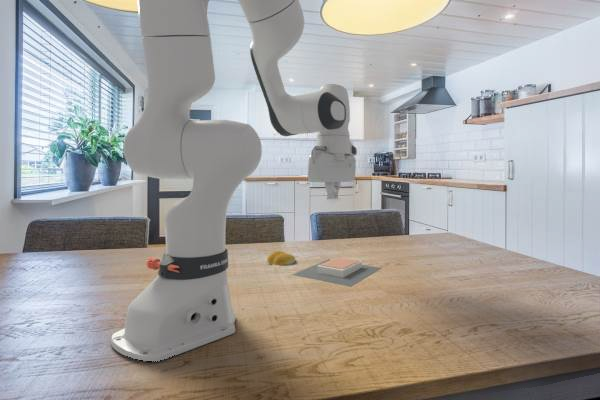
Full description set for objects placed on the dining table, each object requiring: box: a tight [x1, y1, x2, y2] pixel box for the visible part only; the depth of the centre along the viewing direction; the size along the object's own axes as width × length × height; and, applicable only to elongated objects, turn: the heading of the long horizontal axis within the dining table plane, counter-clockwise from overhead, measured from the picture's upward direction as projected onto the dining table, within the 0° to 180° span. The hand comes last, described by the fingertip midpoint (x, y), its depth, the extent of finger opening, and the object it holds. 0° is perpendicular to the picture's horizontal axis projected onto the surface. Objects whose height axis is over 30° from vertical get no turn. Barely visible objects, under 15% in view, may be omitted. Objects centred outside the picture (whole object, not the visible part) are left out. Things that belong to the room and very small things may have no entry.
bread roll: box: [266, 250, 296, 266], centre depth 114 cm, size 8×9×4 cm
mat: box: [291, 258, 382, 287], centre depth 103 cm, size 20×18×1 cm
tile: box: [317, 256, 363, 278], centre depth 104 cm, size 2×8×12 cm
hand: (332, 198), depth 99 cm, fingers closed
